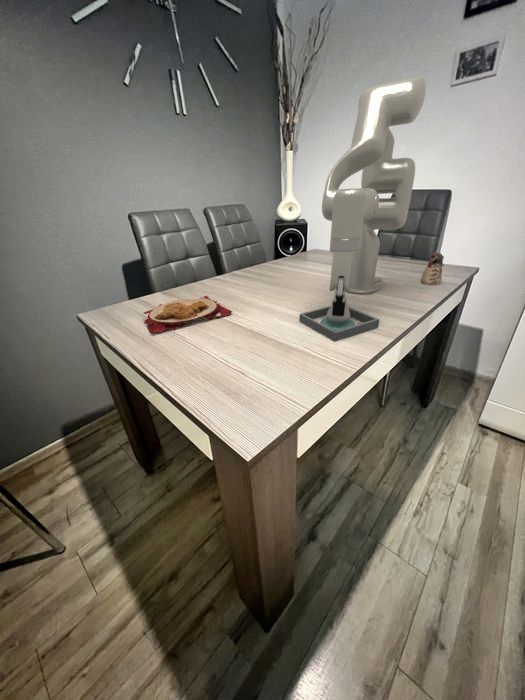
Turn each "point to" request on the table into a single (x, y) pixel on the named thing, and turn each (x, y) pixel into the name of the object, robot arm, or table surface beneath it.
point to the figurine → (433, 270)
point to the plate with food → (183, 313)
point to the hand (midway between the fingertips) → (338, 311)
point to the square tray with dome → (338, 323)
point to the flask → (339, 318)
